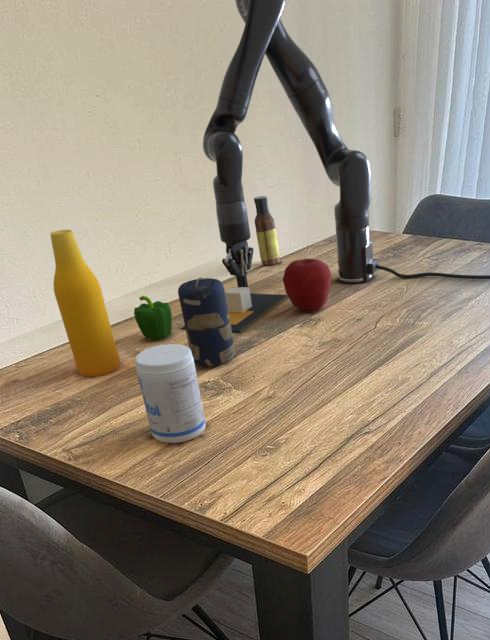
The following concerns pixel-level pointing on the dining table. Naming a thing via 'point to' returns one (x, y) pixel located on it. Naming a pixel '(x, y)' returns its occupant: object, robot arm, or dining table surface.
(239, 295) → the matte off-white cube
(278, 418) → the dining table surface
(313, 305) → the apple
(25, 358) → the dining table surface
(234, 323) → the mat
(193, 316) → the canister
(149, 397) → the supplement tub
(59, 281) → the beer bottle
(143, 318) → the bell pepper
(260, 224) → the sauce bottle
